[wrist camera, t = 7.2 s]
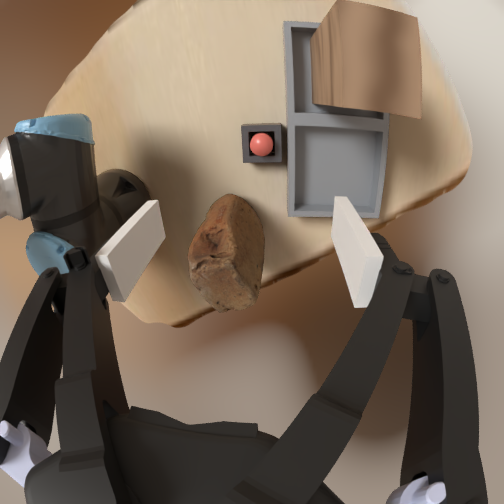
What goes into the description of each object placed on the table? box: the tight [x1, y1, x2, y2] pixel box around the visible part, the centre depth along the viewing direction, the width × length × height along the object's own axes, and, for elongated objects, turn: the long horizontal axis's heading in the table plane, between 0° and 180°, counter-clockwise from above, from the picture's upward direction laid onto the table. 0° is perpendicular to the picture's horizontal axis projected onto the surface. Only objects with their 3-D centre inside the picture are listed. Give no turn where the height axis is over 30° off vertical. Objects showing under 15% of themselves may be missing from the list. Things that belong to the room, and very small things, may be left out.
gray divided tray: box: [283, 21, 389, 218], centre depth 37 cm, size 16×32×4 cm, turn 3°
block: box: [187, 194, 265, 312], centre depth 41 cm, size 11×8×20 cm
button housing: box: [241, 123, 282, 163], centre depth 40 cm, size 6×6×3 cm
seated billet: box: [310, 0, 422, 119], centre depth 25 cm, size 8×11×20 cm
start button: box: [250, 132, 273, 156], centre depth 40 cm, size 3×3×4 cm
